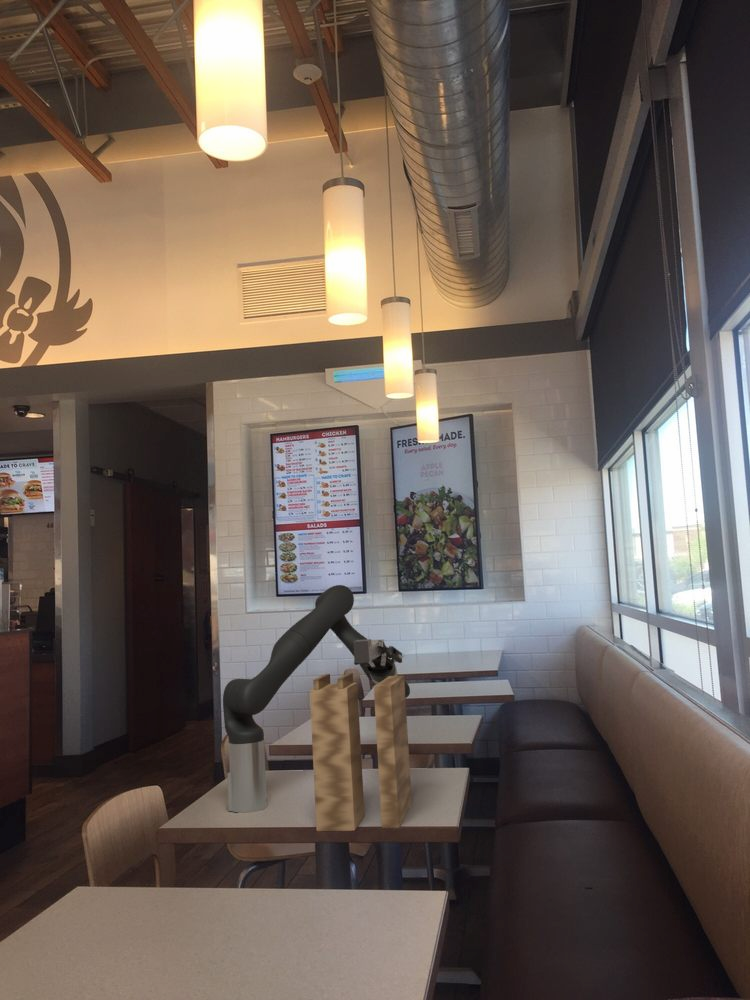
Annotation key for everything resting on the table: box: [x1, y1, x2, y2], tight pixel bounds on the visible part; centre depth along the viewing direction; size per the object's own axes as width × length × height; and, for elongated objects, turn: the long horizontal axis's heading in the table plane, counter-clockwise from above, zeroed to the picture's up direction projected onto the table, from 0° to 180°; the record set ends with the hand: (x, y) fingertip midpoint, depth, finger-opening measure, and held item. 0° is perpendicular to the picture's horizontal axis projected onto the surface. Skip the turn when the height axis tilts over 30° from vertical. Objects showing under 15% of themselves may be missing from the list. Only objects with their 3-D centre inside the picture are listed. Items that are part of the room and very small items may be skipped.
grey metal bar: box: [353, 638, 385, 663], centre depth 216 cm, size 25×4×5 cm, turn 170°
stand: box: [309, 672, 413, 832], centre depth 204 cm, size 19×24×34 cm
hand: (372, 644), depth 219 cm, fingers closed on grey metal bar, 3 cm apart
